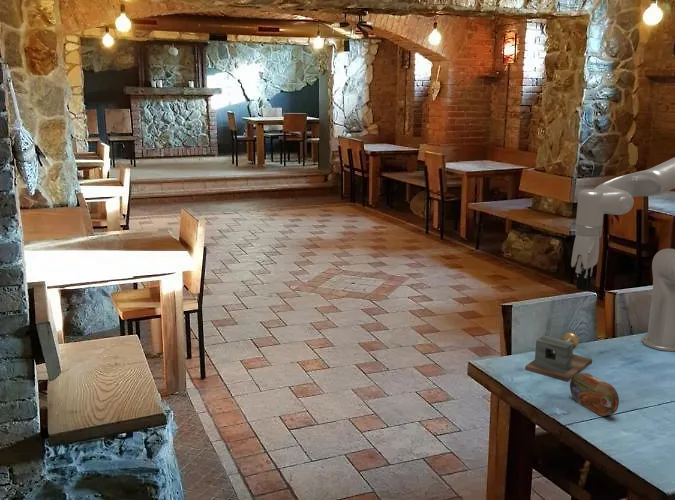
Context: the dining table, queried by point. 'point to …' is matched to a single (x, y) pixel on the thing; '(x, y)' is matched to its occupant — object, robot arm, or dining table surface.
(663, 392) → the dining table surface
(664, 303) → the robot arm
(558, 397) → the dining table surface
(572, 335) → the shaft
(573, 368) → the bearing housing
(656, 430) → the dining table surface
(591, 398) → the tin
